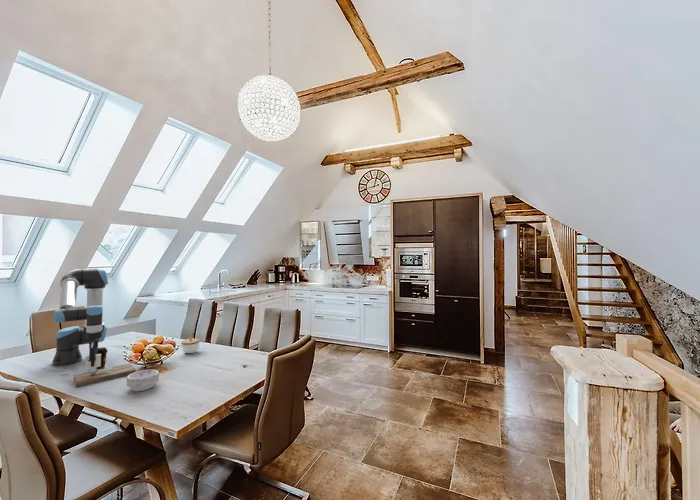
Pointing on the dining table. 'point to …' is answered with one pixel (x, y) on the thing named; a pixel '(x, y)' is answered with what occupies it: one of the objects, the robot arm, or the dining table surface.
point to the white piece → (98, 364)
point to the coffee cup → (102, 357)
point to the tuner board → (103, 375)
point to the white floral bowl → (142, 379)
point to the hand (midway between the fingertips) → (93, 370)
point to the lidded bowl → (190, 345)
